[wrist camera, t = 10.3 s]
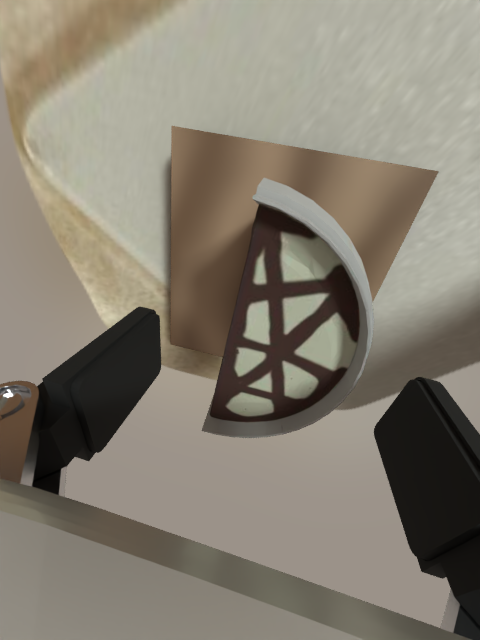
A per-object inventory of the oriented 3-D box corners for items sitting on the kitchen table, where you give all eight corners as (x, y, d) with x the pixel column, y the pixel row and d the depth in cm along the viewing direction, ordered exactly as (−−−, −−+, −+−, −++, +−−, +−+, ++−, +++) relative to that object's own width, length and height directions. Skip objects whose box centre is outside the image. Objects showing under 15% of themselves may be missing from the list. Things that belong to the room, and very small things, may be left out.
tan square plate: (413, 174, 16) (438, 171, 13) (327, 362, 24) (331, 383, 22) (189, 135, 17) (171, 125, 14) (182, 328, 25) (170, 344, 23)
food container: (300, 355, 21) (310, 470, 12) (235, 336, 21) (200, 436, 13) (368, 207, 15) (486, 232, 6) (274, 183, 15) (257, 173, 6)
